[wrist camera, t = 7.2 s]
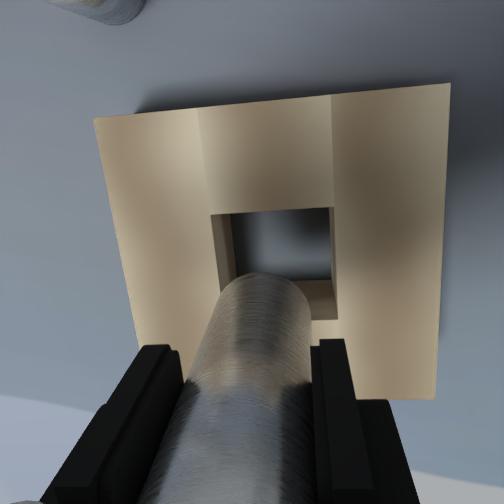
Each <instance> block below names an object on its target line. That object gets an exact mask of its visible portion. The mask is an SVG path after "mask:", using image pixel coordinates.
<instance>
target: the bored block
mask: <svg viewBox="0 0 504 504" xmlns="http://www.w3.org/2000/svg"><path fill="white" fill-rule="evenodd" d="M450 90H451V83H444V84H433V85H422V86H411V87H401V88H391V89H381V90H371V91H361V92H351V93H340V94H330V95H320V96H310V97H300V98H290V99H280V100H270V101H260V102H249V103H239V104H229V105H219V106H209V107H199V108H189V109H179V110H169V111H158V112H148V113H138V114H128V115H119V116H109V117H100V118H93V122H94V127H95V132H96V137H97V142H98V147H99V151H100V156H101V161H102V166H103V171H104V176H105V181H106V186H107V191H108V196H109V201H110V206H111V211H112V216H113V221H114V226H115V230H116V235H117V240H118V245H119V250H120V255H121V260H122V265H123V270H124V275H125V280H126V285H127V290H128V295H129V300H130V305H131V310H132V314H133V319H134V324H135V329H136V334H137V339H138V344H139V349H141V348H142V346H143V345H152V344H169V345H170V347H171V350H177V351H178V352H179V355H180V361H181V367H182V373H183V379H184V383H185V381H186V378H187V376H188V373H189V371H190V368H191V366H192V363H193V361H194V358H195V356H196V353H197V351H198V348H199V346H200V343H201V341H202V338H203V336H204V333H205V331H206V328H207V326H208V323H209V321H210V318H211V316H212V313H213V311H214V308H215V306H216V303H217V301H218V298H219V296H220V294H221V292H222V291H223V290H224V288H225V287H226V286H227V285H228V284H229V283H231V282H232V281H233V280H235V279H237V272H236V264H235V255H234V246H233V237H232V228H231V219H230V213H244V212H259V211H275V210H290V209H305V208H320V207H329V226H330V252H331V279H329V280H307V281H291V282H293V283H294V284H295V285H296V286H297V287H298V288H299V289H300V290H301V291H302V292H303V294H304V295H305V297H306V299H307V301H308V303H309V307H310V312H311V325H312V340H313V346H319V339H336V338H344V340H345V345H346V350H347V355H348V360H349V365H350V370H351V375H352V380H353V385H354V390H355V395H356V399H387V400H417V399H435V392H436V372H437V352H438V332H439V312H440V291H441V271H442V251H443V231H444V211H445V191H446V170H447V150H448V130H449V110H450Z"/></svg>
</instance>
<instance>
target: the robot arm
mask: <svg viewBox="0 0 504 504" xmlns="http://www.w3.org/2000/svg"><path fill="white" fill-rule="evenodd" d="M310 357H311V377H312V396H313V416H314V435H315V455H316V474H317V493H318V504H420V502H419V499H418V495H417V492H416V489H415V486H414V482H413V479H412V476H411V472H410V469H409V466H408V463H407V459H406V456H405V453H404V450H403V446H402V443H401V440H400V436H399V433H398V430H397V427H396V423H395V420H394V417H393V414H392V410H391V407H390V404H389V402H388V400H387V399H356V395H355V390H354V385H353V380H352V375H351V370H350V365H349V360H348V355H347V350H346V345H345V340H344V338H336V339H319V346H310ZM183 386H184V379H183V373H182V367H181V361H180V355H179V352H178V351H177V350H171V347H170V345H169V344H152V345H143V346H142V348H141V349H140V351H139V352H138V354H137V356H136V357H135V359H134V360H133V362H132V363H131V365H130V367H129V368H128V370H127V371H126V373H125V374H124V376H123V378H122V379H121V381H120V382H119V384H118V385H117V387H116V389H115V390H114V392H113V393H112V395H111V397H110V398H109V400H108V401H107V403H106V404H104V405H102V406H101V407H100V408H99V410H98V411H97V412H96V414H95V416H94V417H93V419H92V420H91V422H90V423H89V425H88V426H87V428H86V429H85V431H84V433H83V434H82V436H81V437H80V439H79V440H78V442H77V443H76V445H75V447H74V448H73V450H72V451H71V453H70V454H69V456H68V457H67V459H66V460H65V462H64V463H63V465H62V467H61V468H60V470H59V471H58V473H57V474H56V476H55V477H54V479H53V480H52V482H51V484H50V485H49V487H48V488H47V490H46V491H45V493H44V494H43V496H42V498H41V499H40V501H22V502H16V503H12V504H136V503H137V501H138V498H139V496H140V493H141V491H142V488H143V486H144V483H145V481H146V478H147V476H148V473H149V471H150V468H151V466H152V463H153V461H154V458H155V456H156V453H157V451H158V448H159V446H160V443H161V441H162V438H163V436H164V433H165V431H166V428H167V426H168V423H169V421H170V418H171V416H172V413H173V411H174V408H175V406H176V403H177V401H178V398H179V396H180V393H181V391H182V388H183Z"/></svg>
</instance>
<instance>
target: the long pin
mask: <svg viewBox="0 0 504 504" xmlns="http://www.w3.org/2000/svg"><path fill="white" fill-rule="evenodd" d="M310 346H313V340H312V325H311V312H310V307H309V303H308V301H307V299H306V297H305V295H304V294H303V292H302V291H301V290H300V289H299V288H298V287H297V286H296V285H295V284H294V283H293V282H291V281H290V280H288V279H286V278H284V277H282V276H280V275H277V274H273V273H267V272H256V273H250V274H246V275H243V276H240V277H238V278H237V279H235V280H233V281H232V282H231V283H229V284H228V285H227V286H226V287H225V288H224V290H223V291H222V292H221V294H220V296H219V298H218V301H217V303H216V306H215V308H214V311H213V313H212V316H211V318H210V321H209V323H208V326H207V328H206V331H205V333H204V336H203V338H202V341H201V343H200V346H199V348H198V351H197V353H196V356H195V358H194V361H193V363H192V366H191V368H190V371H189V373H188V376H187V378H186V381H185V383H184V386H183V388H182V391H181V393H180V396H179V398H178V401H177V403H176V406H175V408H174V411H173V413H172V416H171V418H170V421H169V423H168V426H167V428H166V431H165V433H164V436H163V438H162V441H161V443H160V446H159V448H158V451H157V453H156V456H155V458H154V461H153V463H152V466H151V468H150V471H149V473H148V476H147V478H146V481H145V483H144V486H143V488H142V491H141V493H140V496H139V498H138V501H137V503H136V504H318V493H317V474H316V455H315V435H314V416H313V396H312V377H311V357H310Z"/></svg>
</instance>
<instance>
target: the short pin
mask: <svg viewBox="0 0 504 504" xmlns="http://www.w3.org/2000/svg"><path fill="white" fill-rule="evenodd" d="M41 1H44V2H46V3H49V4H52V5H55V6H57V7H60V8H63V9H65V10H68V11H71V12H74V13H76V14H79V15H82V16H85V17H87V18H90V19H93V20H95V21H98V22H101V23H104V24H107V25H122V24H125V23H128V22H129V21H131V20H133V19H134V18H135V17H136V16H137V15H138V14H139V13H140V11H141V10H142V8H143V6H144V4H145V1H146V0H41Z"/></svg>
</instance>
